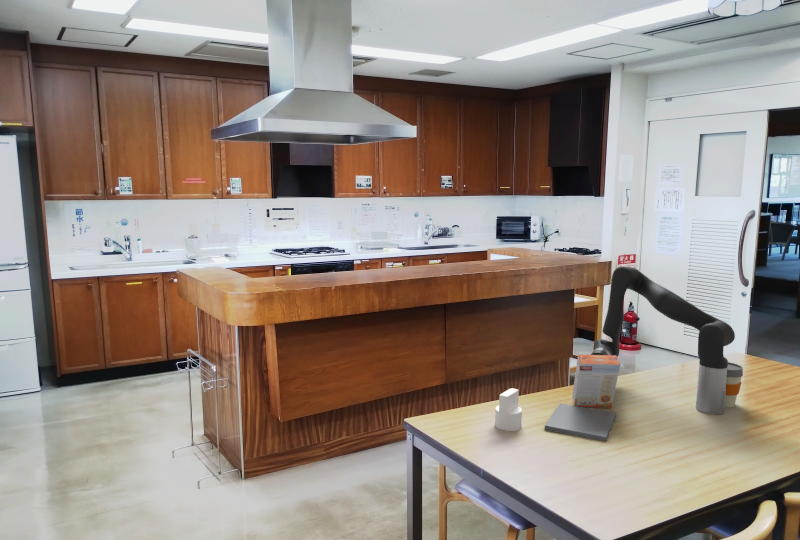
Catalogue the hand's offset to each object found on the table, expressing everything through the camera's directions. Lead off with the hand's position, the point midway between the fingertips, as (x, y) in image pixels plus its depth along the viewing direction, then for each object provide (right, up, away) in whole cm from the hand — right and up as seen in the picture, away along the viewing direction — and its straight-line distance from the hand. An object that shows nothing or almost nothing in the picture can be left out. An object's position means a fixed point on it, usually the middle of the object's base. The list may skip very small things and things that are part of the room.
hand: (592, 370), depth 221 cm
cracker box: (+1, -13, +3) cm, 13 cm away
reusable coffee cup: (+52, -14, +6) cm, 54 cm away
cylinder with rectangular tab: (-35, -17, -17) cm, 42 cm away
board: (-9, -16, -14) cm, 23 cm away
